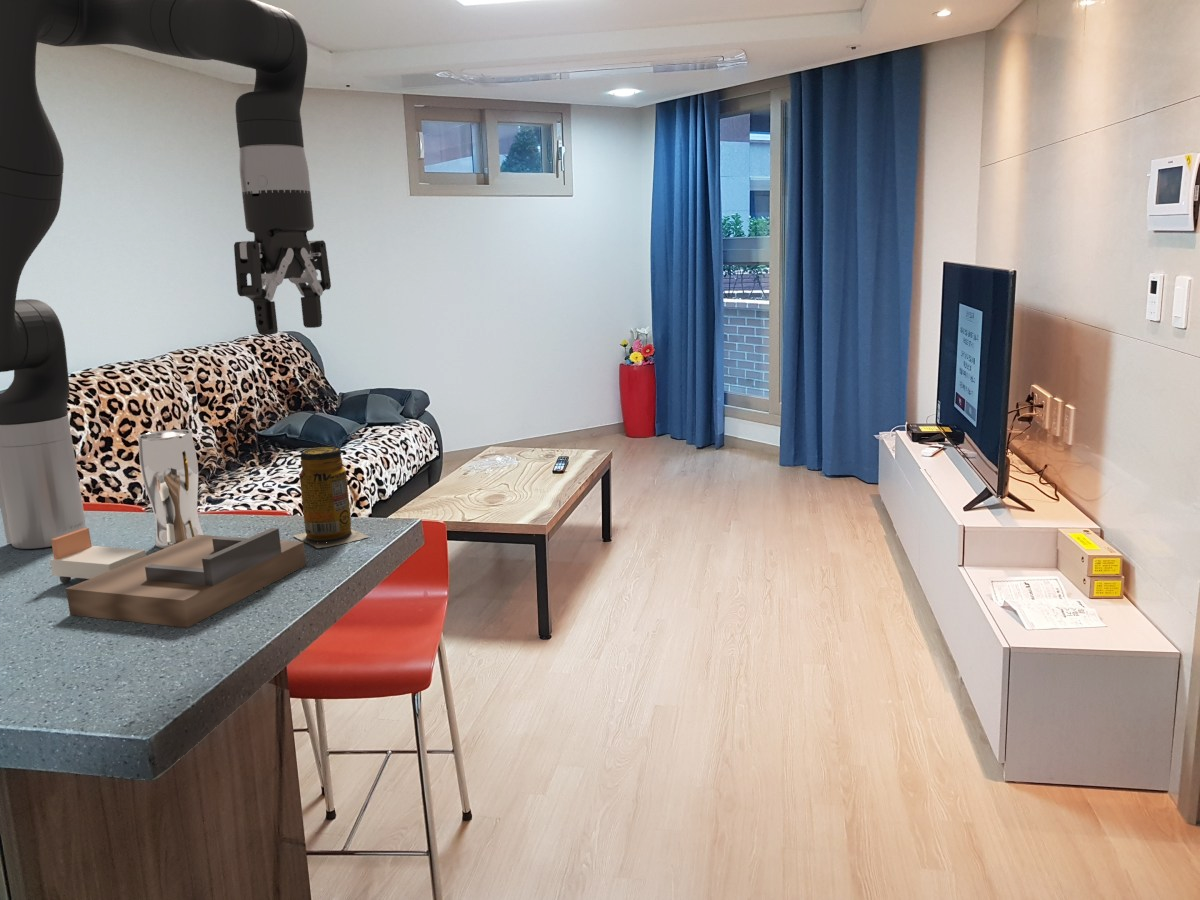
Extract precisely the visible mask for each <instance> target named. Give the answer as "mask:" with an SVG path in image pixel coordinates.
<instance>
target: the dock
mask: <svg viewBox="0 0 1200 900" xmlns="http://www.w3.org/2000/svg"><path fill="white" fill-rule="evenodd" d="M280 539H281V538H280V529H279V528H275V527H271V528H268V529H266V530H264V531H262V532H260V533H257V534H255V535H253V536H250V537H238V536H237V537H236V536H221V535H206V534H203V535H196V536H194V537H191V538H189V539H187V540H184V541H182V542H179V543H177V544H174V545H172V546H169V547H167V548H161V549H160V550H157V551H155V552H153V553H151V554H150V553H149V554H146V556H145V557H142V558H140V559H137V560H135V561H133V562H130V563H128V564H125V565H123V566H120V567H118V568H115V569H113V570H110V571H108V572H106V573H103V574H101V575H98V576H96V577H93V578H91V579H86V580H84V581H81V582H79V583H76V584H73V585H72V586H69V587H66V588H65V591H66V592H65V593H66V598H67V603H68V604H67V605H68V611H69V615H70V616H78V617H88V618H96V619H97V618H98V619H106V620H116V621H123V622H124V621H125V622H131V623H133V622H134V623H142V624H151V625H159V626H171V627H179V628H187V629H188V628H190V627H192V626H194V625H196V624H198V623H200V622H201V621H203V620H205V619H207V618H209V617H212V616H213V615H215V614H216V613H219V612H220V611H221V612H222V610H225V609H226V608H228V607H230V606H232V605H234V604H235V603H238V602H240V601H241V600H243V599H245V598H247V597H249V596H251V595H254V594H255V593H257V592H259V591H260V590H262V589H264V588H265V587H268V586H270V585H271V583H272V584H274V583H275V581H276V582H277V581H280V580H281V579H283V578H285V577H287V576H288V574H289V575H290V573H291V574H293V573H295V572H297V571H298V570H300V569H302V568H304V567H306V566H307V560H306V554H305V552H306V551H305V544H304V543H305V542H303V541H297V540H296V541H295V540H293V541H292V540H280ZM305 565H306V566H305ZM303 566H304V567H303ZM299 568H300V569H299ZM294 571H295V572H294ZM292 572H293V573H292ZM286 575H287V576H286ZM284 576H285V577H284ZM273 582H274V583H273ZM263 587H264V588H263ZM258 590H259V591H258ZM256 591H257V592H256Z"/></svg>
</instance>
